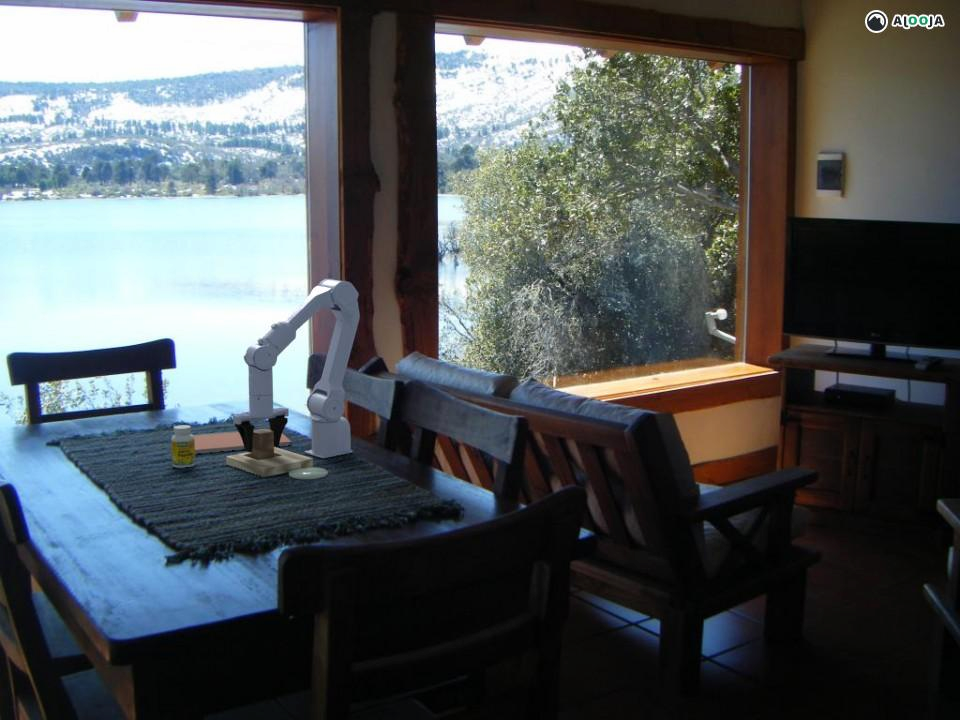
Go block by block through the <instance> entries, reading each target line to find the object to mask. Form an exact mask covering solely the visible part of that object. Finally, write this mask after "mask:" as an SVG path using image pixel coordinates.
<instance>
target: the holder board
mask: <svg viewBox="0 0 960 720" xmlns="http://www.w3.org/2000/svg"><path fill="white" fill-rule="evenodd" d="M225 458H226V461H225V463H226V466H230V467H233V468H235V467H236V469H238V468H239V470H241V469H242V470H241V471H244V470H245V472H248V473H250V472H251V474H253V473H254V475H256V474H257V475H256V476H259V475H260V477H261V478H266V476H267V477H272V476H276V475H280V474H285V473H289V472H290V471H291V470H294V469H298V468H307V467H314V458H312V457H309V456H305V455H303V454H298V453H295V452H292V451H289V450H286V449H283V448H279V447H274V457H273V458H268V459H263V460H256V459H253V458H251V452H247V451H245V452H242V453H237V454H232V455H227V456H226V457H225Z"/></svg>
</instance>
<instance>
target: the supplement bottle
mask: <svg viewBox="0 0 960 720" xmlns="http://www.w3.org/2000/svg"><path fill="white" fill-rule="evenodd" d="M173 433H174V435H172V437H171V460H172V467H173V468H176V469H186V468H185V467H189V468H191V467H194V466H195V465H196V454H195V440H194V436H195V435H194V434H192V427H191V425H187V424H182V425H181V424H180V425H175V426H173ZM193 435H194V436H193Z"/></svg>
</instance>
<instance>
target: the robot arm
mask: <svg viewBox="0 0 960 720" xmlns="http://www.w3.org/2000/svg"><path fill="white" fill-rule="evenodd" d="M359 295H360V294H359V292H358V291H357V289H356V288H355V286H354V285H353V284H352V282H350V281H347V280H336V279H333V278H325V279H323V280H322V281H320V282H319V283H318V285H316V286H315V287H313V289H312V290H311V292H310V294H309V295H308V296H307V297H306V298H305V299H304V301H302V303H301V304H300V305H299V306H298V307H297V308H296V309H295V311H294V312H293V313H291V315H290V316H289V317H288V318H287V319H286V321H281V320H280V321H278V322H277V323H276V322H273V323H272V324H271V325H270V330H269V331H268V332H267V333H265V335H263V336H262V337H260V338H258V339H257V343H254V344H251V345H249V347H248V348H247V349H246V351H245V352H246V353H245V355H243V361H244V362H245V364H246V365H247V367H248V407H249V408H248V410H249V411H246V412H242V413H239V414H233V415H232V416H233V417H232V418H233V419H232V420H233V421H232V423H233V424H234V427H235V428H236V431H237V432H239V434H240V436H241V438H242V441H243V444H244V448H245V450H244V451H245V452H252V449H253V442H252V439H253V432H254V430H255V425H254V424H252V423H251V422H257V421H262V420H268V423H269V427H270V428H269V430H271V431H274V447H276V448H279V443H280V439H281V435H282V434H283V431H284V429H285V428H286V426H287V424H288V420H289V419H288V417H289V416H290V415H289V408H287V407H274V381H273V380H274V378H273V377H274V375H273V374H274V373H273V367H274V366H276V364H277V361H278V357H279V356H280V354H281V353H283V352H284V350H285V349H286V348H288V347H289V345H291V344H292V343H293V341H295V340H296V337H297V331H298V330H299V329H300V328H301V327H303V325H304V324H305V323H307V322H308V321H309V320H310V319H311V318H312V317H313V316H315V314H317V313H318V312H319V311H320V310H326V309H330V310H331V312H332V314H333V315H334V316H335V318H336V322H335V325H334V329H333V332H332V336H331V340H330V343H329V347H328V351H327V355H326V359H325V363H324V366H323V371H322V374H321V378H320V379H319V380H318V381H317V382H316V383H315V384H314V387H313V390H312V391H311V393H310V394H309V396H308V397H307V399H306V408H307V410H308V411H309V412H310V413H311V417H310V418H311V422H310V423H311V449H310V450H304V453H305V454H307V455H309V456H310V455H311V456H313V457H317V458H319V459H327V458H332V457H338V456H342V455H347V454H350V453H353V450H352V449H351V448H352V447H351V446H352V445H351V439H352V438H351V424H350V422H349V420H348V419H347V418H346V417H344V414H345V409H346V404H345V396H346V391H345V389H344V386H343V382H344V378H345V374H346V371H347V367H348V362H349V359H350V355H351V352H352V349H353V344H354V341H355V336H356V333H357V330H358V327H359V326H358V325H359V323H360V318H361V317H360V310H359V309H360V308H359V302H358V298H359ZM337 455H338V456H337Z"/></svg>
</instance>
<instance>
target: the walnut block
mask: <svg viewBox="0 0 960 720" xmlns="http://www.w3.org/2000/svg"><path fill="white" fill-rule="evenodd" d="M267 429H268V428H267ZM267 429H266V428H262V429H260V430H259V429H258V430H257V429H254V430H255V431H254V432H253V439H252V442H253V449H252V452H251V458H253V459H256V460H263V459H268V458H273V457H274V431H270V429H269V430H267Z"/></svg>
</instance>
